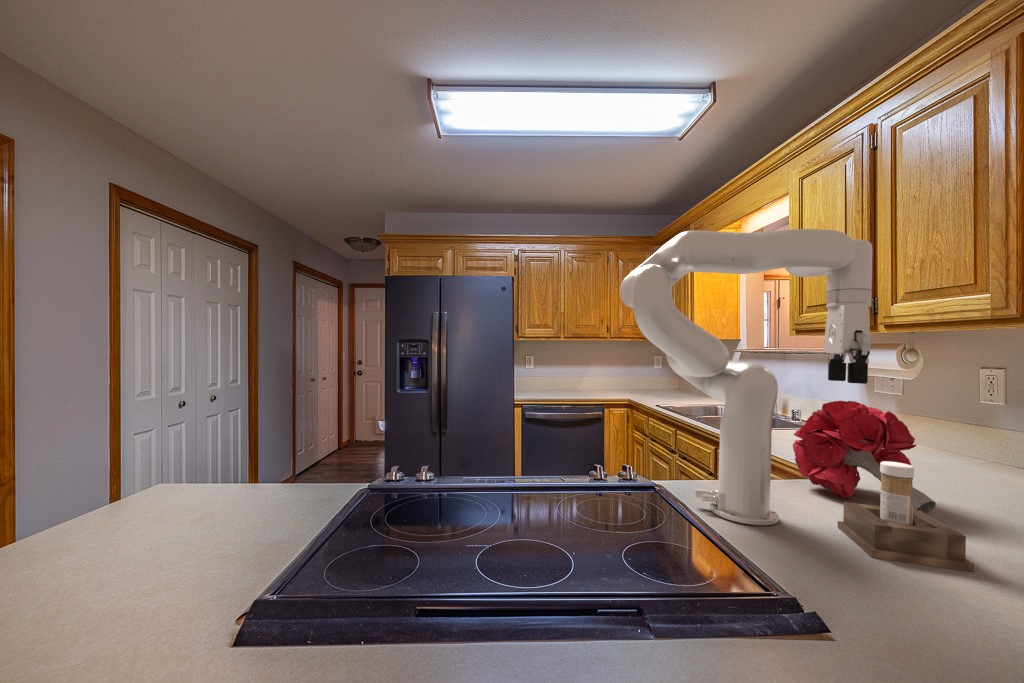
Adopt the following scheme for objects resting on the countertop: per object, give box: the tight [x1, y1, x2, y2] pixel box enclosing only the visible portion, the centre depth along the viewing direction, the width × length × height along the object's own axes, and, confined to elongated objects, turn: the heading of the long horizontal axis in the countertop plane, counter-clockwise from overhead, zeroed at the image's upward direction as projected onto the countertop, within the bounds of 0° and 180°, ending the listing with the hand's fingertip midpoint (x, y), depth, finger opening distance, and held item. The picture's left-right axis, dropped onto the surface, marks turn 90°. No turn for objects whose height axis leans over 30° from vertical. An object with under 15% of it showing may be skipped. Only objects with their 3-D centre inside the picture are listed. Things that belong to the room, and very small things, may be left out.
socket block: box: [837, 501, 975, 573], centre depth 79 cm, size 14×14×5 cm
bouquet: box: [792, 400, 937, 515], centre depth 105 cm, size 22×24×30 cm
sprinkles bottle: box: [879, 461, 915, 525], centre depth 79 cm, size 5×5×14 cm
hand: (846, 381), depth 93 cm, fingers open, 9 cm apart
